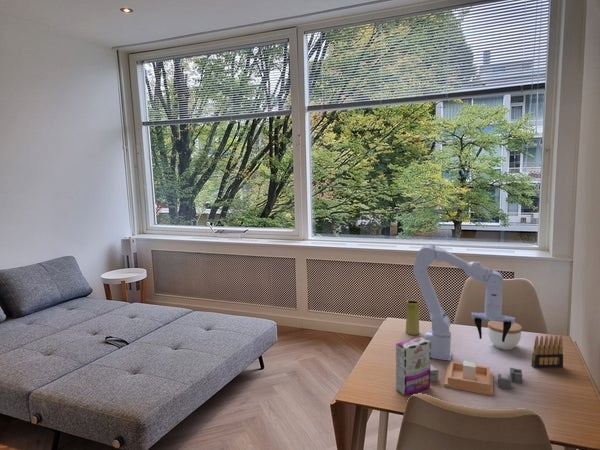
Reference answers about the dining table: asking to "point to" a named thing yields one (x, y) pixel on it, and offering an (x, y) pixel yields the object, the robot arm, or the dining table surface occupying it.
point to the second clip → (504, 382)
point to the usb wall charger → (433, 373)
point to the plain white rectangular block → (469, 370)
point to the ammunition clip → (548, 353)
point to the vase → (412, 317)
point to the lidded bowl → (497, 331)
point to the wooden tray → (480, 384)
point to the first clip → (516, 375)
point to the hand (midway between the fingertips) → (491, 339)
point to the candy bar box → (413, 365)
